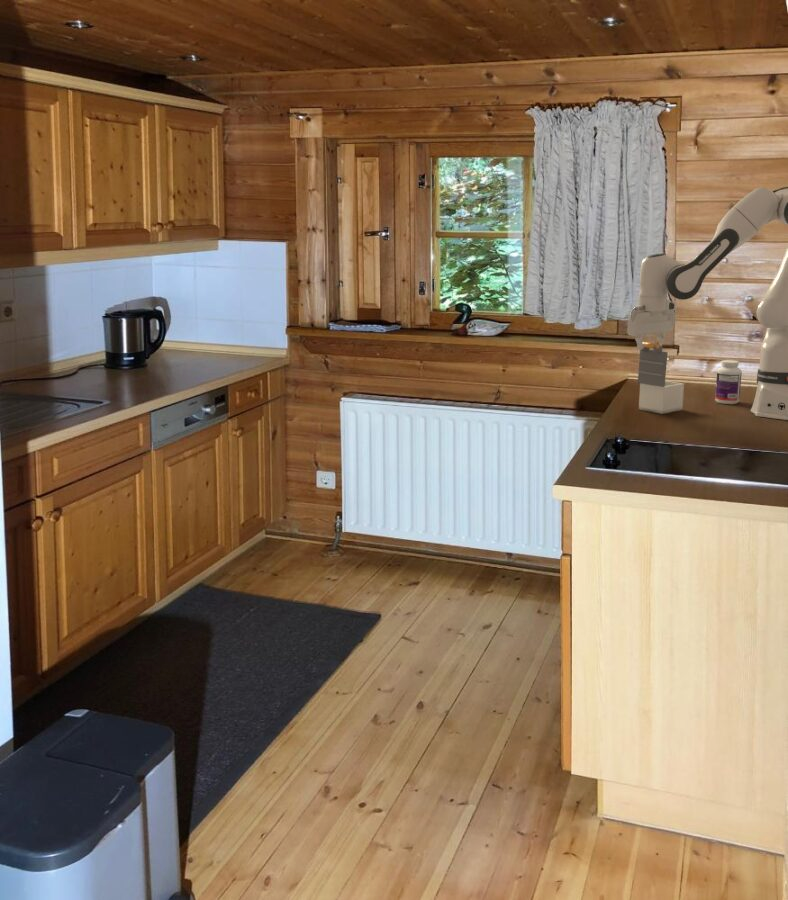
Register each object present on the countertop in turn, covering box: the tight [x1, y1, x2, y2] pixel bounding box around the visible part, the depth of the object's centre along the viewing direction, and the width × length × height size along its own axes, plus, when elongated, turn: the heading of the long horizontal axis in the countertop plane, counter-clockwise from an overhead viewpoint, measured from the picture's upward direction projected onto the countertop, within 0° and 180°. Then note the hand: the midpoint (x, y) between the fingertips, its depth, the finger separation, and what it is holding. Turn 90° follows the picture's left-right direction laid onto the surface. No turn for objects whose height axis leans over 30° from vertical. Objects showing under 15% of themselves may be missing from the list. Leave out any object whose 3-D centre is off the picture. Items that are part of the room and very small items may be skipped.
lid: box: [637, 341, 668, 387], centre depth 344 cm, size 14×10×4 cm
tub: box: [638, 380, 685, 415], centre depth 351 cm, size 9×11×9 cm
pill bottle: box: [714, 359, 742, 405], centre depth 362 cm, size 8×8×14 cm
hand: (649, 348), depth 342 cm, fingers open, 8 cm apart
